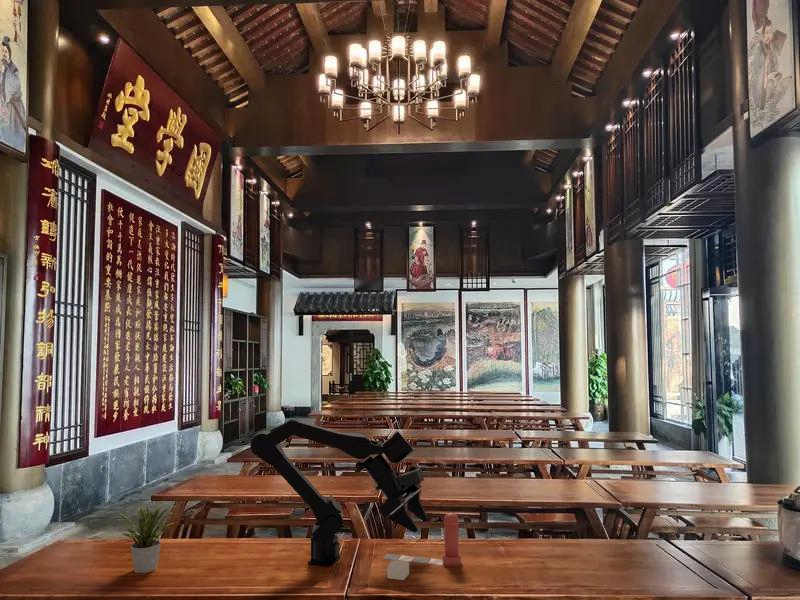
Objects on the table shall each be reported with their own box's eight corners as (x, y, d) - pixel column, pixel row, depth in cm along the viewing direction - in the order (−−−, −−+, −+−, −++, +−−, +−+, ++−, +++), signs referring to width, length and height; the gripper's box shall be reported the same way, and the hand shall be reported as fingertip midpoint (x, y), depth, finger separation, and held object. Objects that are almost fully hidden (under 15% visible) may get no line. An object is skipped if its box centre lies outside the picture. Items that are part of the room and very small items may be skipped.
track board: (378, 565, 156) (378, 561, 156) (389, 555, 164) (389, 551, 164) (456, 574, 150) (456, 569, 150) (463, 563, 157) (463, 558, 158)
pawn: (440, 565, 153) (439, 514, 154) (445, 559, 157) (444, 509, 158) (458, 567, 151) (458, 516, 152) (463, 561, 156) (462, 511, 157)
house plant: (192, 564, 159) (193, 498, 160) (150, 583, 146) (151, 512, 147) (151, 556, 165) (152, 493, 166) (107, 574, 152) (108, 506, 153)
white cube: (387, 583, 145) (387, 565, 145) (393, 577, 149) (393, 560, 149) (403, 585, 144) (403, 567, 144) (409, 579, 148) (409, 561, 148)
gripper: (394, 464, 152) (435, 517, 148) (416, 450, 169) (453, 497, 166) (362, 491, 154) (401, 544, 150) (387, 475, 172) (422, 522, 168)
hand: (421, 525), depth 158 cm, fingers open, 9 cm apart
